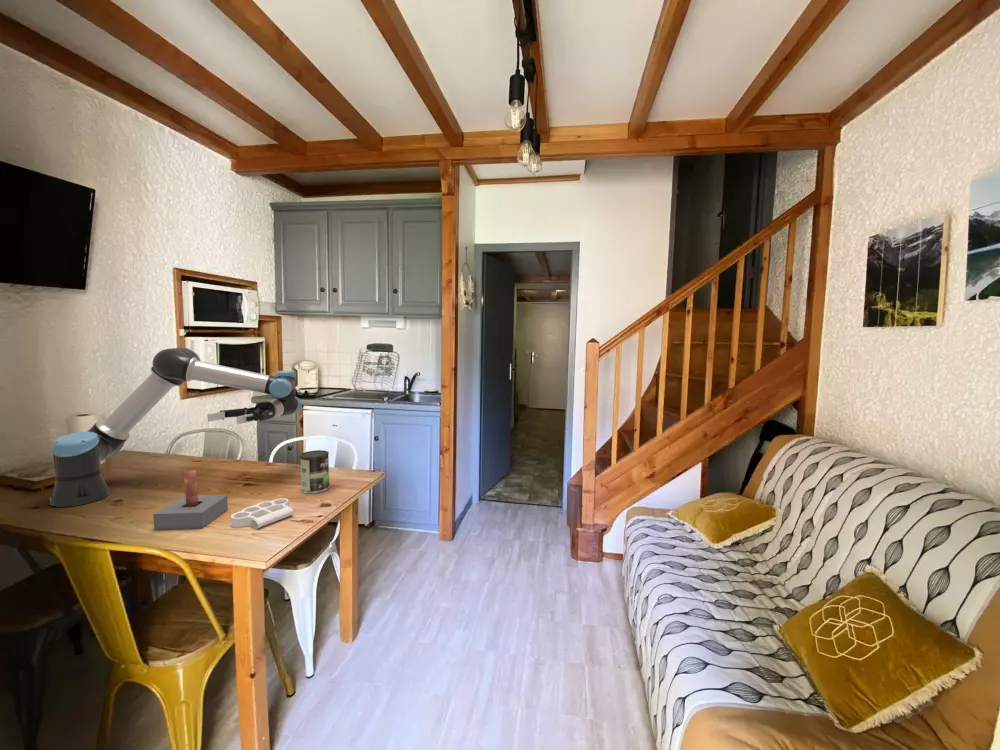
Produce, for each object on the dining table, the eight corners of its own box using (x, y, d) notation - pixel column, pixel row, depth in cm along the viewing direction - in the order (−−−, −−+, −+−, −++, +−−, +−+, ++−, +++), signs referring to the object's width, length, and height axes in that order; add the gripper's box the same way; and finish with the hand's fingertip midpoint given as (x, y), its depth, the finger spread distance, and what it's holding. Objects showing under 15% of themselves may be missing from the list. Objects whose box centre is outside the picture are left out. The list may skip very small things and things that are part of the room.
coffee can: (333, 484, 167) (333, 450, 166) (322, 493, 157) (321, 457, 156) (308, 483, 168) (307, 449, 166) (295, 493, 157) (294, 457, 156)
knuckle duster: (247, 535, 125) (223, 523, 133) (302, 513, 141) (277, 504, 148) (247, 524, 125) (222, 513, 132) (302, 504, 140) (277, 495, 148)
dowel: (184, 521, 133) (181, 472, 132) (191, 517, 136) (188, 469, 135) (195, 520, 133) (192, 472, 132) (201, 516, 137) (198, 469, 135)
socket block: (154, 529, 127) (153, 514, 127) (184, 510, 141) (183, 496, 141) (202, 528, 128) (201, 512, 128) (227, 509, 142) (227, 495, 142)
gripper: (293, 421, 170) (250, 431, 150) (244, 416, 177) (197, 426, 156) (293, 402, 170) (249, 411, 149) (244, 399, 176) (196, 407, 156)
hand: (222, 419), depth 153 cm, fingers open, 13 cm apart
